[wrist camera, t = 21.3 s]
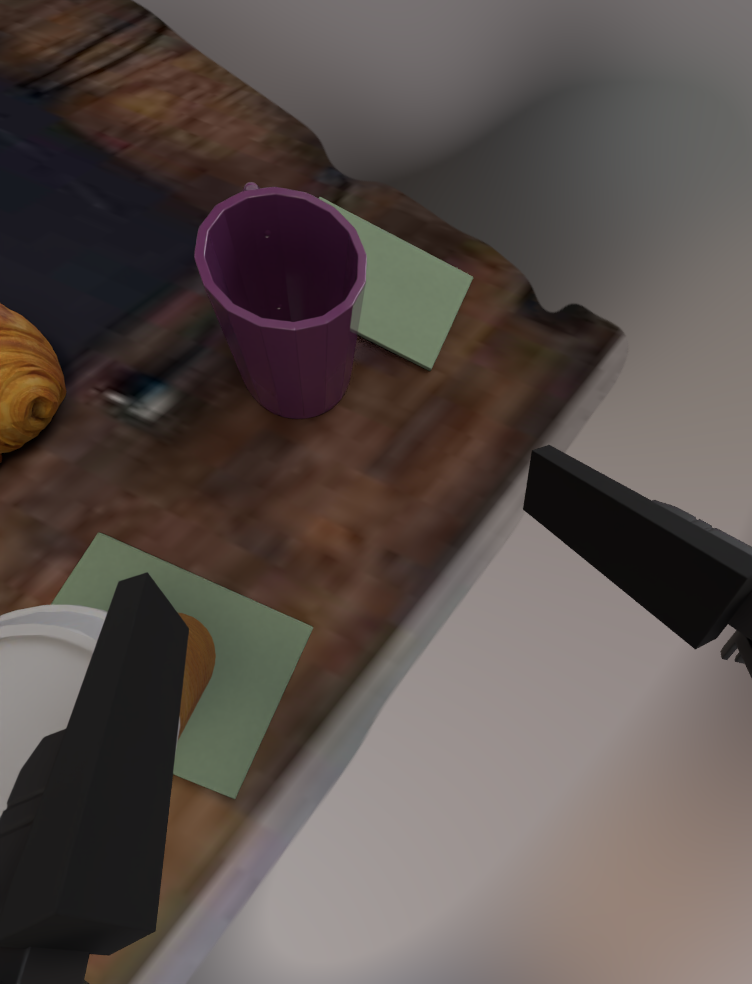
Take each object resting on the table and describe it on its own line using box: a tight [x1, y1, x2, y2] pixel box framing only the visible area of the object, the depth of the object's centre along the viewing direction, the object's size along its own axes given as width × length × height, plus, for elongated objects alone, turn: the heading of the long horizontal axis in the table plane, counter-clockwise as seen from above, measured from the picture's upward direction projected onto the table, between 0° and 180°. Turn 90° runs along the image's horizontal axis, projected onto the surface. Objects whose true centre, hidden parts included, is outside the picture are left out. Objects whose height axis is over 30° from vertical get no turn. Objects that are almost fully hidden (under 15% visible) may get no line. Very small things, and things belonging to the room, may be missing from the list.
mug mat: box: [319, 197, 473, 371], centre depth 31 cm, size 16×11×1 cm
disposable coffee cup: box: [0, 605, 216, 817], centre depth 17 cm, size 10×10×12 cm
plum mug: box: [194, 182, 367, 419], centre depth 23 cm, size 12×9×11 cm
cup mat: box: [51, 533, 313, 799], centre depth 23 cm, size 16×11×1 cm
